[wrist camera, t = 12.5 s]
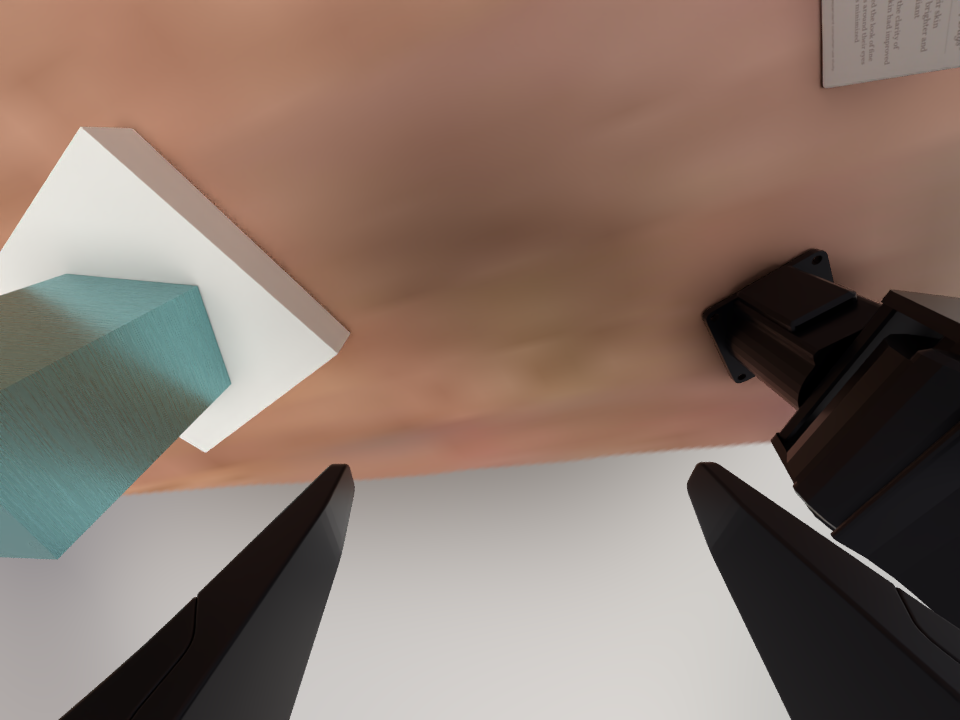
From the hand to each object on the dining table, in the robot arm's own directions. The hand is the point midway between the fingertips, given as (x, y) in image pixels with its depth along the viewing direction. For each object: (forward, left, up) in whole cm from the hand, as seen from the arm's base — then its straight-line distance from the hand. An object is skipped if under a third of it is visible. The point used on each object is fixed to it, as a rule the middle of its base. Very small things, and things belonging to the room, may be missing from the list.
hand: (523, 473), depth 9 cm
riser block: (+10, +15, -14) cm, 23 cm away
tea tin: (+10, +15, -11) cm, 21 cm away
